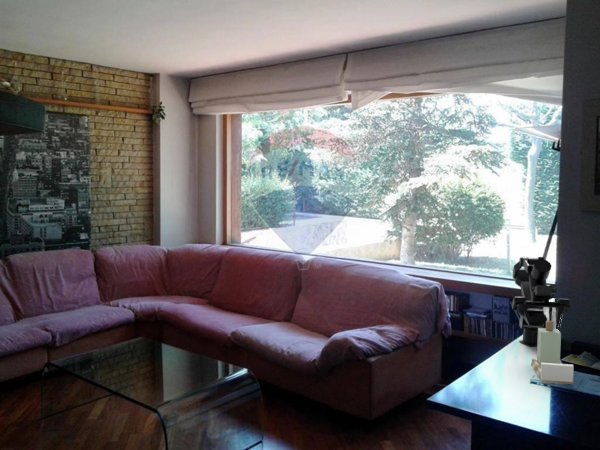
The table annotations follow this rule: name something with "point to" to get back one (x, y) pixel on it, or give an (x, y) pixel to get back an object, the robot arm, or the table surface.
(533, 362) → the birch rail
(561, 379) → the wall
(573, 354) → the table surface
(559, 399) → the table surface
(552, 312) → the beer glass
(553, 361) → the sliding block
